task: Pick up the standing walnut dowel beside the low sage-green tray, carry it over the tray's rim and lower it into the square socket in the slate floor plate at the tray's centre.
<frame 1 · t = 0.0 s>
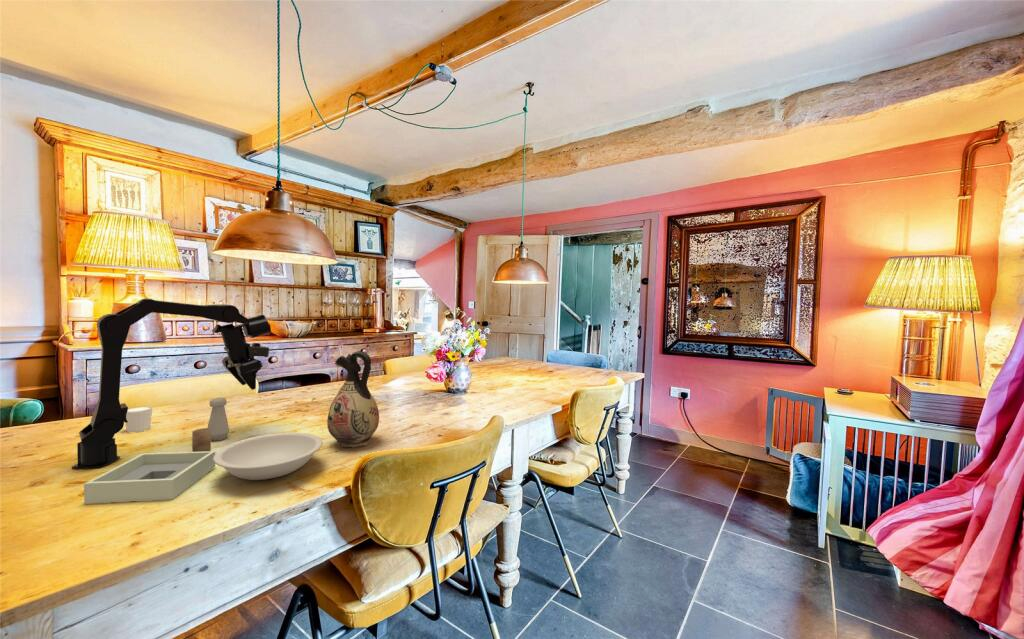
hand: (248, 386, 128), 15 cm above the table, tool pointing down, fingers open, 9 cm apart
soup bowl: (271, 473, 101), on the table
salt shaker: (217, 439, 122), on the table
tray: (156, 484, 92), on the table
ceramic jug: (355, 444, 123), on the table
peg: (201, 458, 107), on the table
white cube: (138, 430, 128), on the table
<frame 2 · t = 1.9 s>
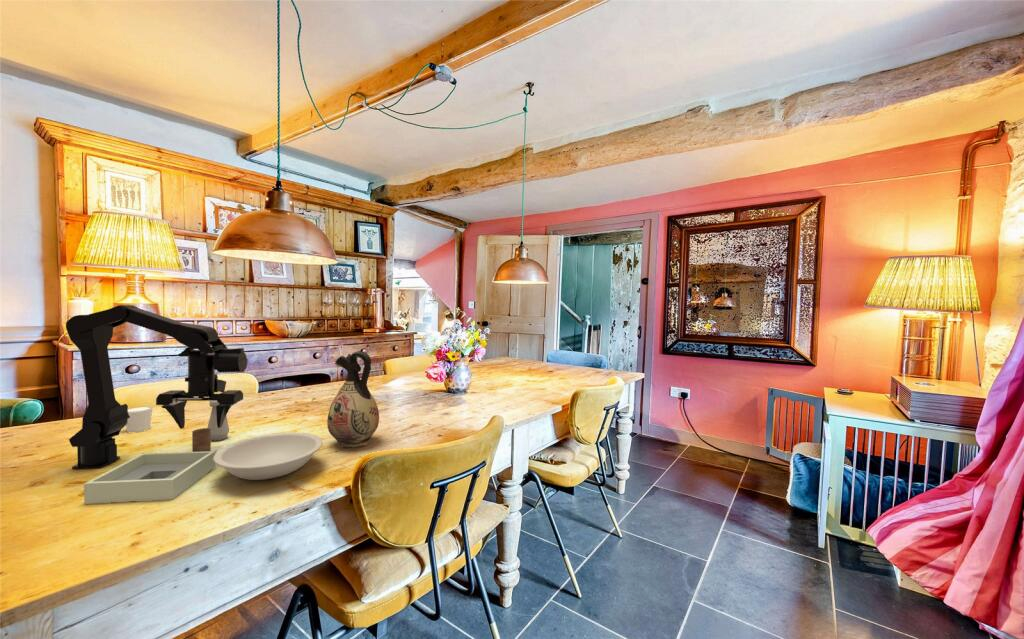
hand: (201, 427, 107), 9 cm above the table, tool pointing down, fingers open, 9 cm apart
nothing on the table moved.
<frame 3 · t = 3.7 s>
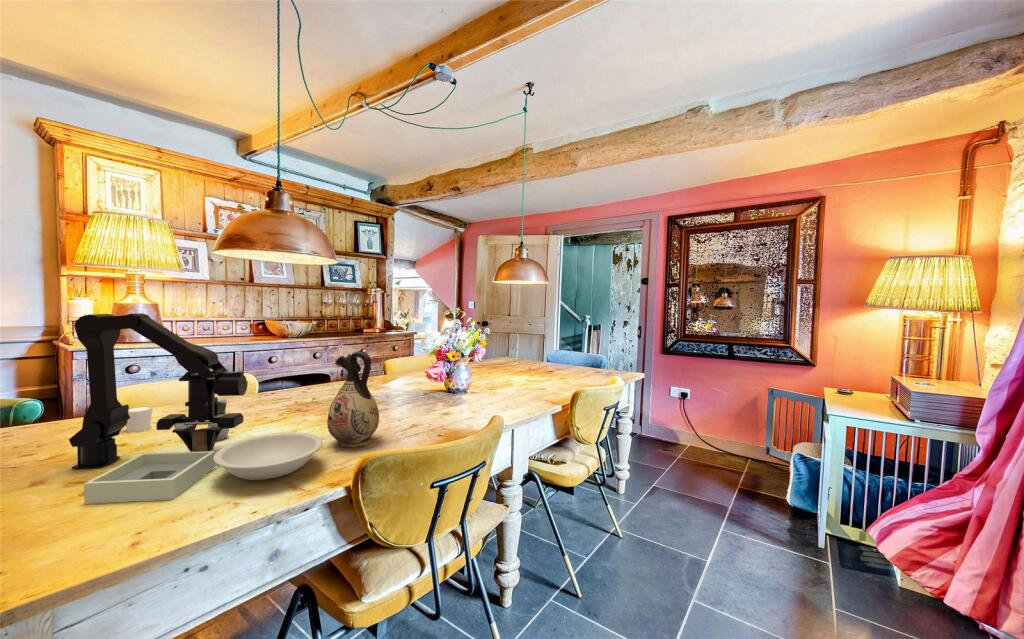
hand: (201, 451, 107), 2 cm above the table, tool pointing down, fingers closed on peg, 4 cm apart
peg: (201, 458, 107), on the table, touching gripper
everything else where it was.
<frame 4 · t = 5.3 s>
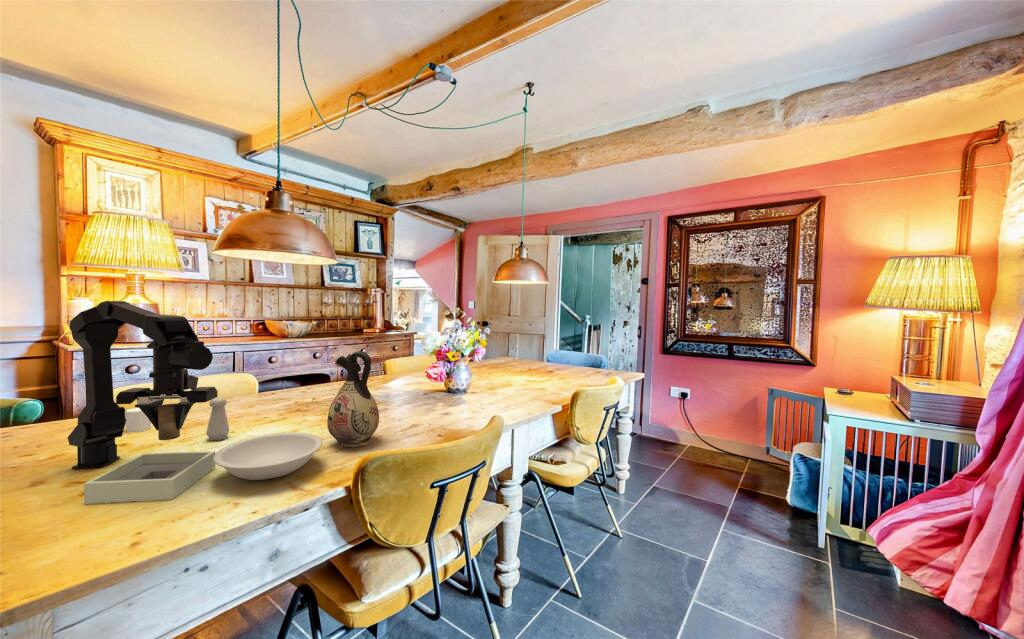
hand: (169, 429, 95), 12 cm above the table, tool pointing down, fingers closed on peg, 4 cm apart
peg: (169, 437, 96), point 10 cm above the table, touching gripper
everything else where it was.
when the fingers open (3 cm above the table, at t = 7.3 s): peg stays where it is, resting in tray.
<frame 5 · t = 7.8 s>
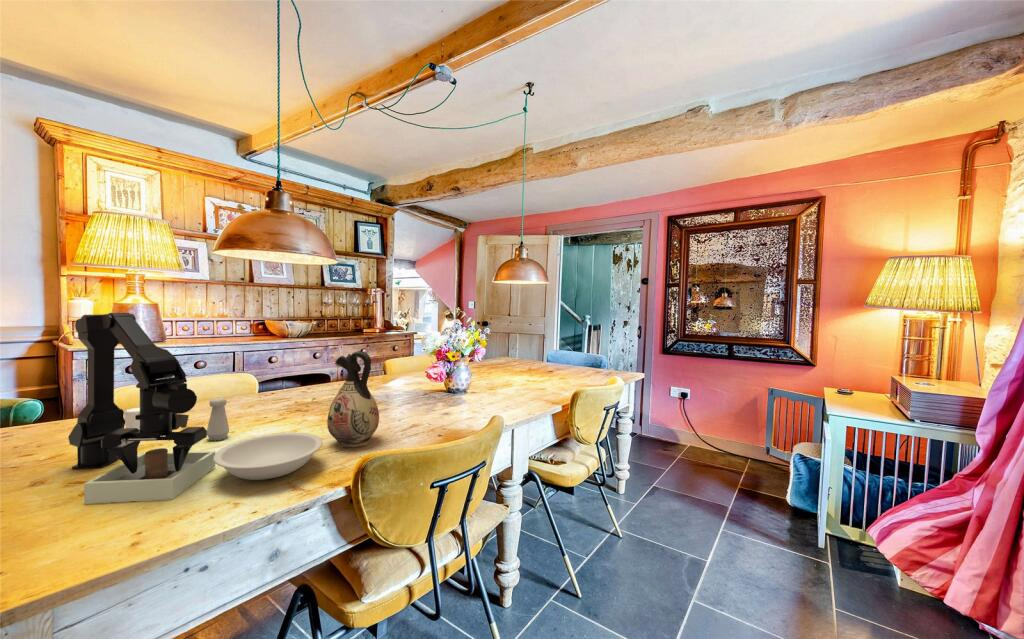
hand: (156, 471, 92), 3 cm above the table, tool pointing down, fingers open, 9 cm apart
peg: (156, 484, 92), resting in tray
everything else where it was.
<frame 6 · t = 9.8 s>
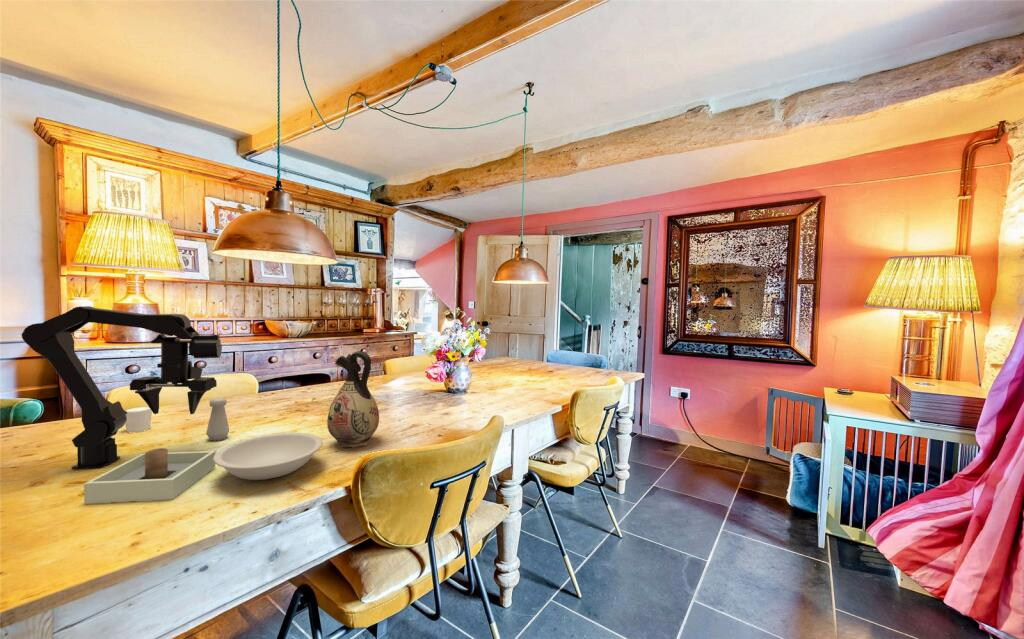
hand: (174, 413, 108), 12 cm above the table, tool pointing down, fingers open, 9 cm apart
nothing on the table moved.
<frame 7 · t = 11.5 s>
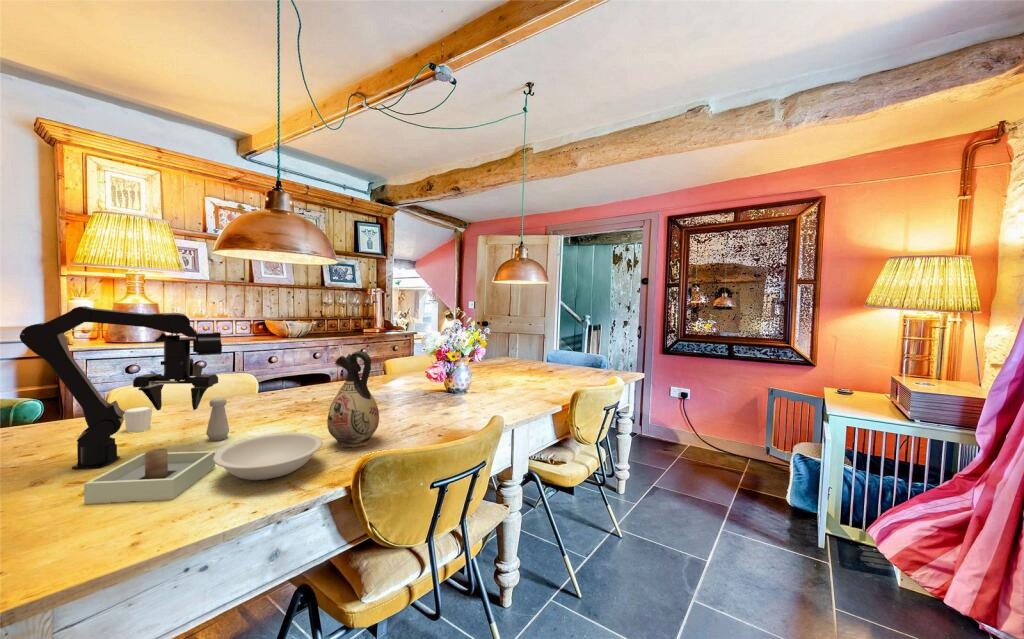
hand: (177, 409, 112), 12 cm above the table, tool pointing down, fingers open, 9 cm apart
nothing on the table moved.
at the end: peg 0.0 cm off-centre on the tray, point 0.0 cm above the tray's base; peg tilted 0°; the gripper is holding nothing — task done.
